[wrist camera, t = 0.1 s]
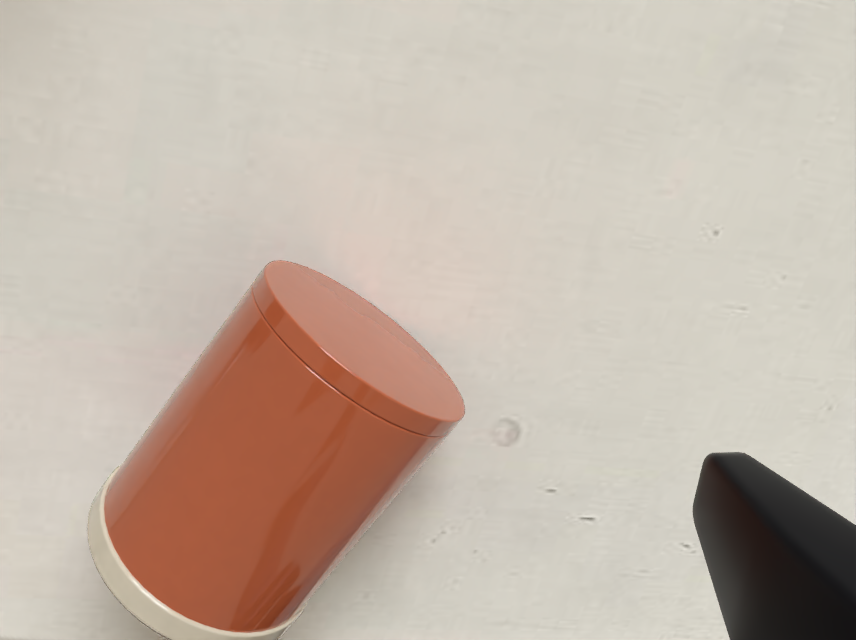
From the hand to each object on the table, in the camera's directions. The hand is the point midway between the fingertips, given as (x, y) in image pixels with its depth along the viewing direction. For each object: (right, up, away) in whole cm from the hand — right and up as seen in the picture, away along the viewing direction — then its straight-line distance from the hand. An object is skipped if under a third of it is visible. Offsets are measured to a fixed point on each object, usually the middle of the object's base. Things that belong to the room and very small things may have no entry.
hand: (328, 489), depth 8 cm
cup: (-3, -1, +15) cm, 16 cm away
